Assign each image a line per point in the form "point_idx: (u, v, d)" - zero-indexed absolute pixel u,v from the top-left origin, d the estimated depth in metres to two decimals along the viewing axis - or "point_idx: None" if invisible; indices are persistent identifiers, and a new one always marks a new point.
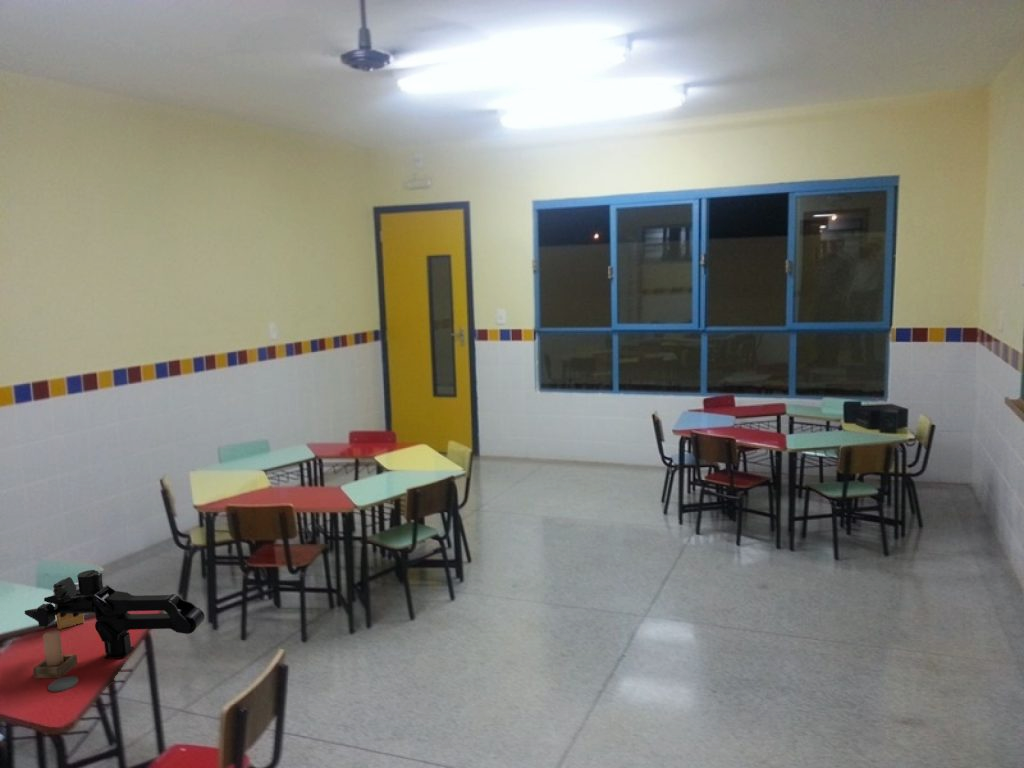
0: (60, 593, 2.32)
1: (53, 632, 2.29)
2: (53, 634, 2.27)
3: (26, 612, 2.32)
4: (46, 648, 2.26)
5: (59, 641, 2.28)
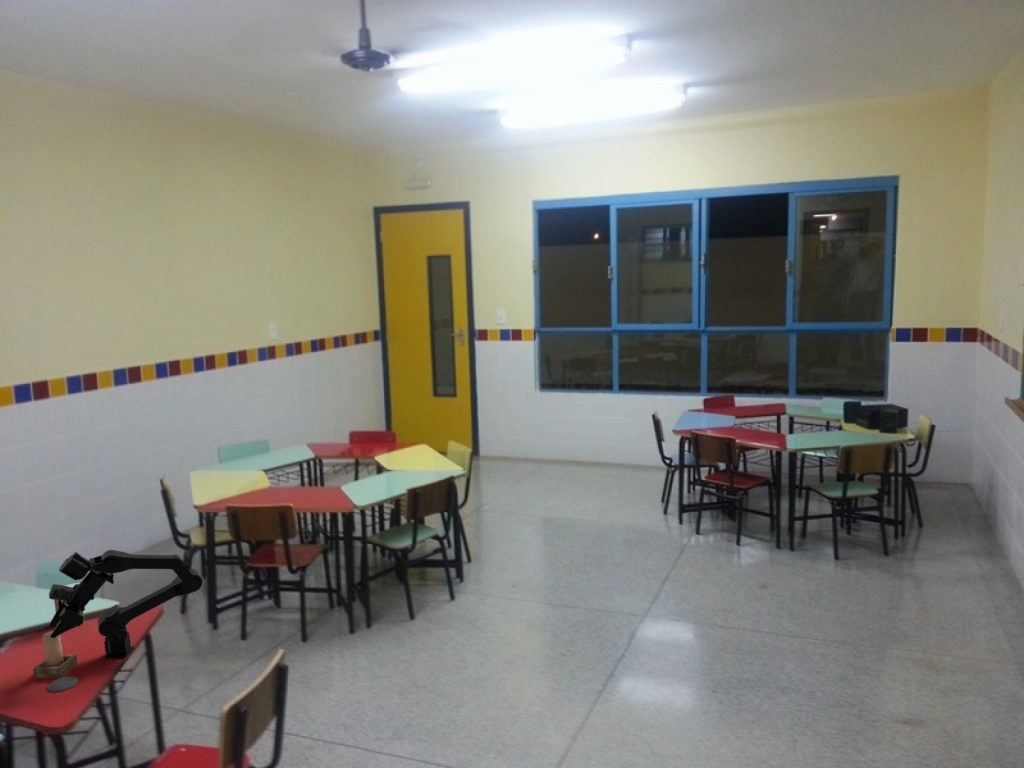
0: (63, 593, 2.25)
1: None
2: None
3: (53, 635, 2.24)
4: (46, 648, 2.26)
5: (59, 641, 2.28)
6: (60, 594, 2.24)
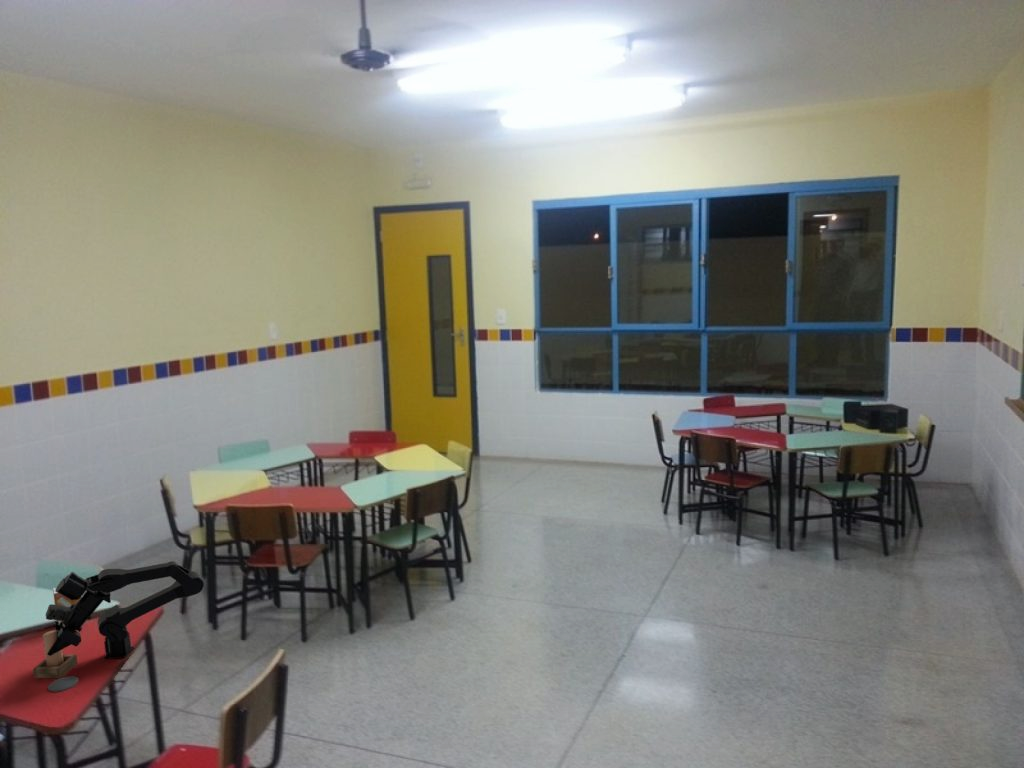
0: (60, 614, 2.25)
1: (53, 632, 2.29)
2: (53, 634, 2.27)
3: (50, 653, 2.26)
4: (46, 648, 2.26)
5: None
6: (57, 614, 2.24)
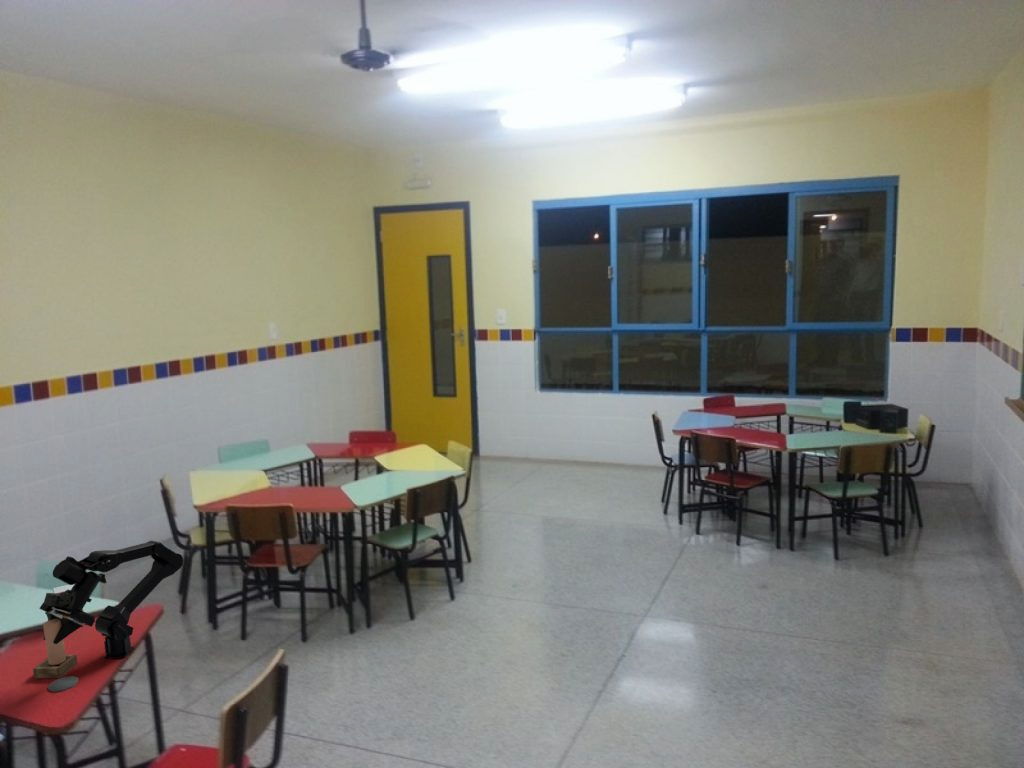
0: (68, 598, 2.19)
1: (52, 621, 2.20)
2: (55, 622, 2.20)
3: (56, 641, 2.18)
4: (50, 637, 2.18)
5: None
6: (65, 599, 2.18)
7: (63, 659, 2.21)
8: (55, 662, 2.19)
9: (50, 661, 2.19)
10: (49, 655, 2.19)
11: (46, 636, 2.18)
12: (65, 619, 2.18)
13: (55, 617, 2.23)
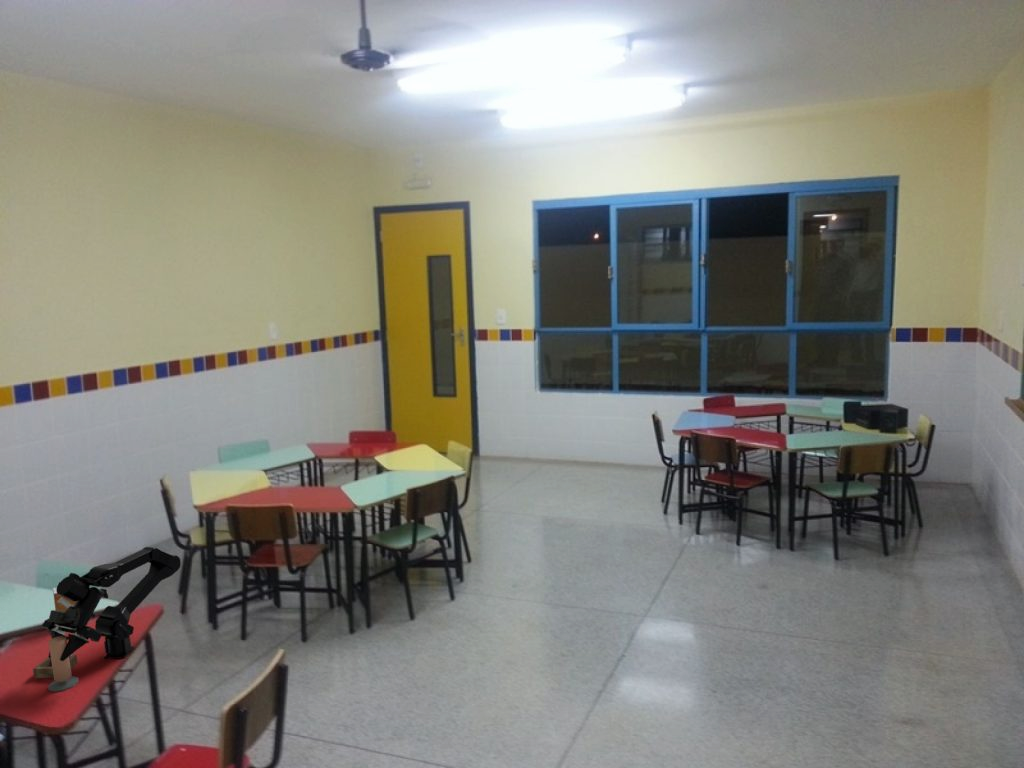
0: (74, 614, 2.19)
1: (57, 638, 2.20)
2: (61, 639, 2.19)
3: (63, 658, 2.18)
4: (56, 654, 2.18)
5: None
6: (71, 615, 2.19)
7: (69, 676, 2.21)
8: (62, 679, 2.19)
9: (56, 678, 2.19)
10: (55, 672, 2.19)
11: (52, 653, 2.18)
12: (72, 636, 2.19)
13: (59, 634, 2.23)
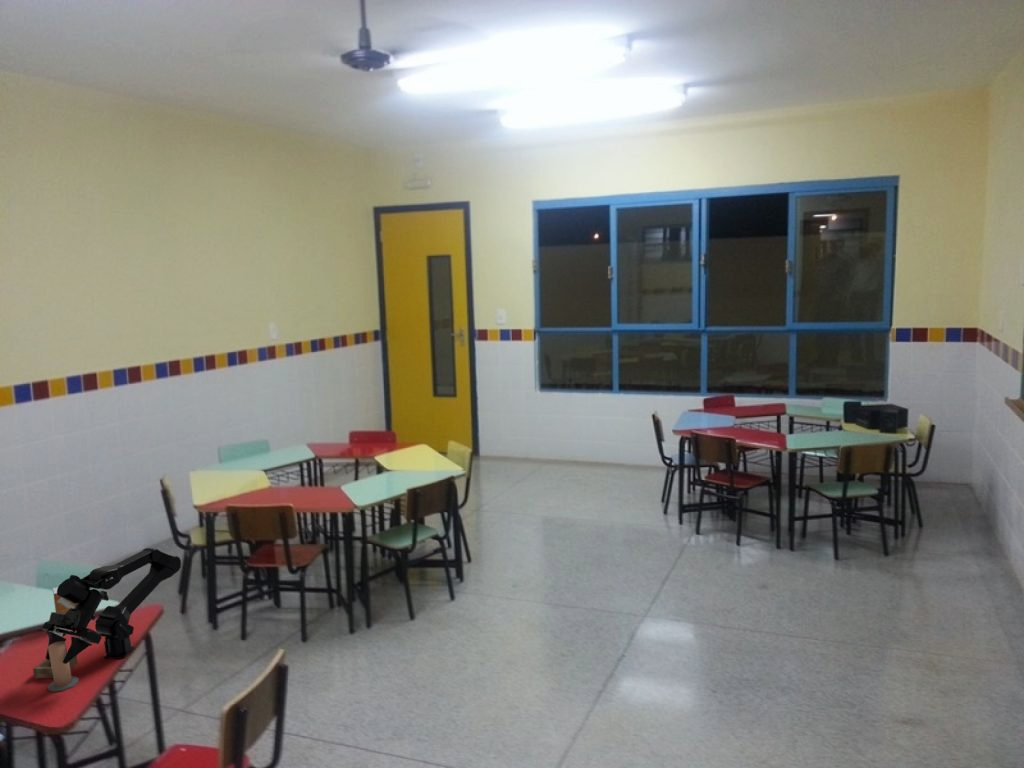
0: (74, 616, 2.19)
1: (57, 643, 2.20)
2: (60, 644, 2.19)
3: (66, 660, 2.18)
4: (56, 660, 2.18)
5: (66, 650, 2.21)
6: (71, 617, 2.19)
7: (70, 680, 2.21)
8: (62, 684, 2.19)
9: (57, 683, 2.19)
10: (55, 677, 2.19)
11: (52, 659, 2.18)
12: (75, 638, 2.18)
13: (56, 636, 2.23)
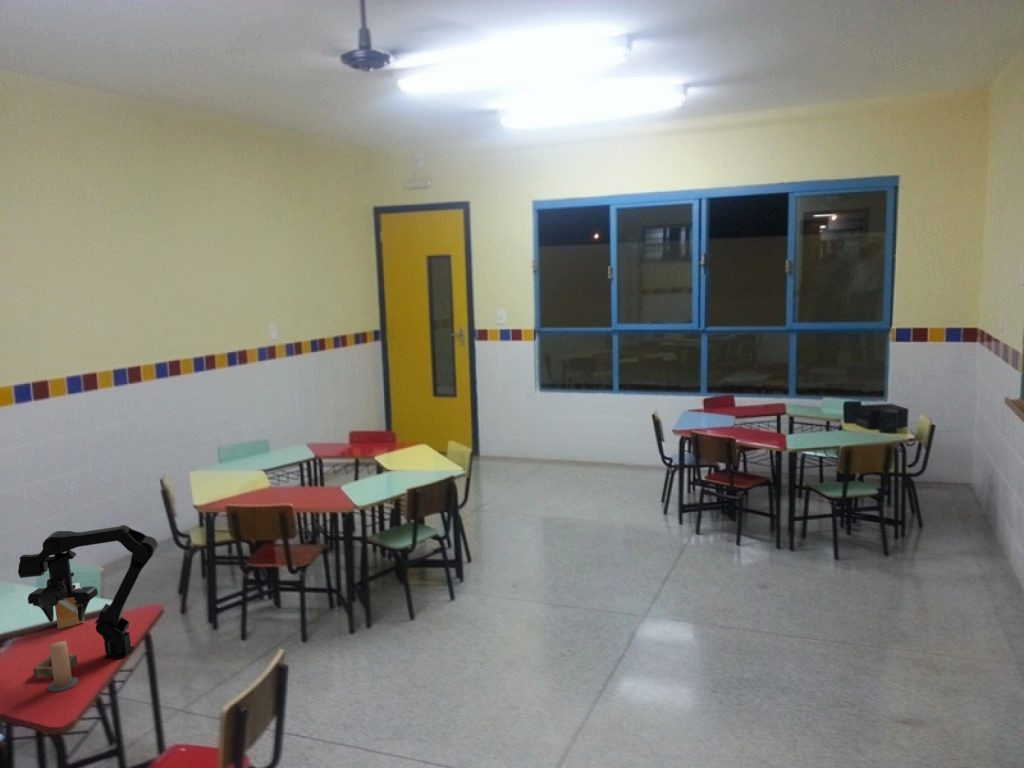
0: (64, 592, 2.26)
1: (58, 643, 2.20)
2: (62, 644, 2.20)
3: (81, 618, 2.33)
4: (57, 659, 2.18)
5: (67, 650, 2.21)
6: (63, 594, 2.26)
7: (70, 681, 2.21)
8: (62, 684, 2.19)
9: (57, 683, 2.19)
10: (56, 677, 2.19)
11: (53, 658, 2.18)
12: (80, 604, 2.30)
13: None
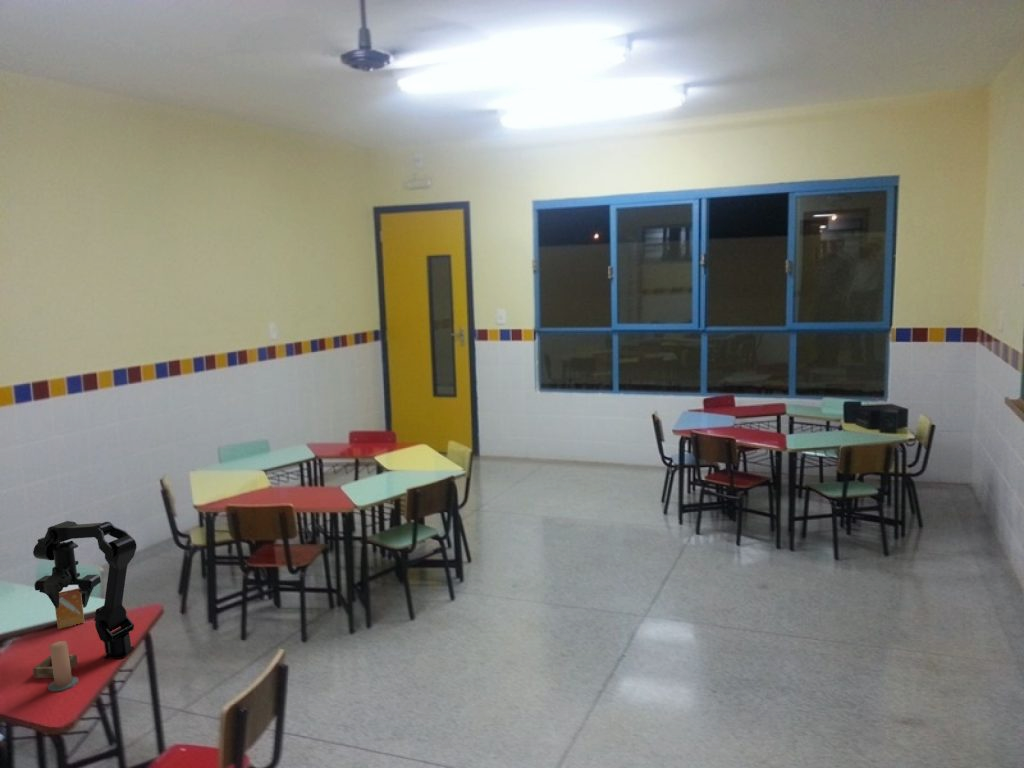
0: (68, 579, 2.36)
1: (59, 643, 2.20)
2: (62, 644, 2.20)
3: (85, 605, 2.43)
4: (57, 659, 2.18)
5: None
6: (67, 581, 2.36)
7: (70, 681, 2.21)
8: (62, 684, 2.19)
9: (57, 683, 2.19)
10: (56, 677, 2.19)
11: (53, 658, 2.18)
12: (83, 591, 2.40)
13: None
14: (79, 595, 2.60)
